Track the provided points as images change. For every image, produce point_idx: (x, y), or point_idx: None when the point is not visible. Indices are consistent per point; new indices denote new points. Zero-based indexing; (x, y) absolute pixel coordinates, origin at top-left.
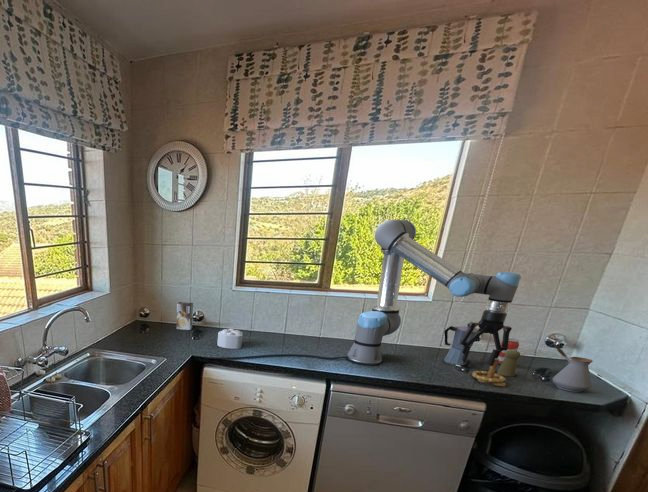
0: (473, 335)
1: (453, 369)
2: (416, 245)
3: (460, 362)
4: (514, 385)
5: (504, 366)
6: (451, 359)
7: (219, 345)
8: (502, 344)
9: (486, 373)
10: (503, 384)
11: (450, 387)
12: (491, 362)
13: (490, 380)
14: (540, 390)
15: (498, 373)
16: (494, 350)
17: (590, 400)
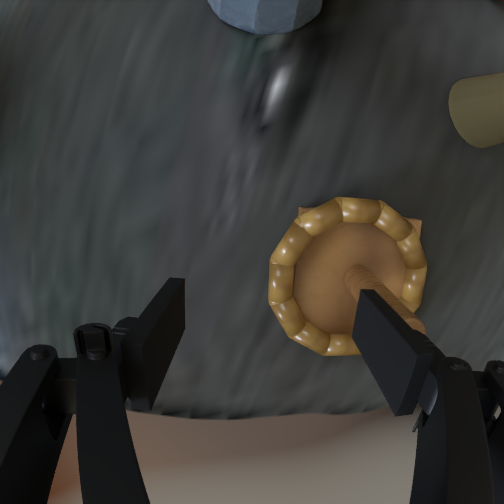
0: (87, 488)
1: (221, 105)
2: None
3: (277, 21)
4: (445, 291)
5: (487, 121)
6: (223, 6)
7: None
8: (499, 403)
9: (366, 223)
10: None
11: None
12: (361, 350)
13: (329, 355)
14: (499, 314)
15: (450, 114)
16: (403, 392)
17: None
